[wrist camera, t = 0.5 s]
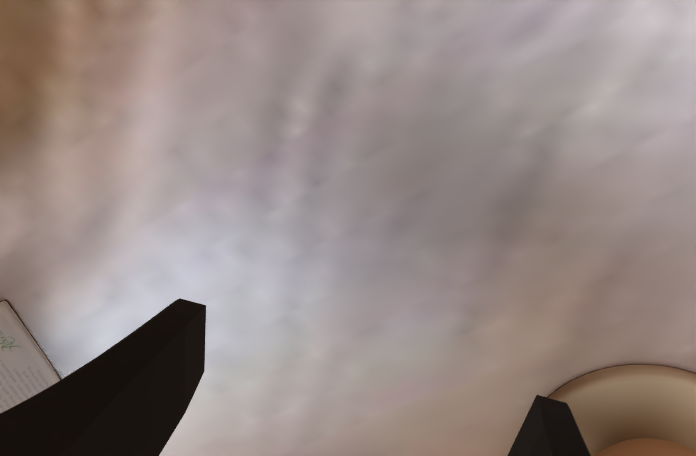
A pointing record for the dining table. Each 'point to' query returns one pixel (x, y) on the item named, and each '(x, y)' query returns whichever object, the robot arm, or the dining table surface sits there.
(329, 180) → the dining table surface
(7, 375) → the syrup box
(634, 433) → the bobbin
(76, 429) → the robot arm
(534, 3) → the dining table surface
